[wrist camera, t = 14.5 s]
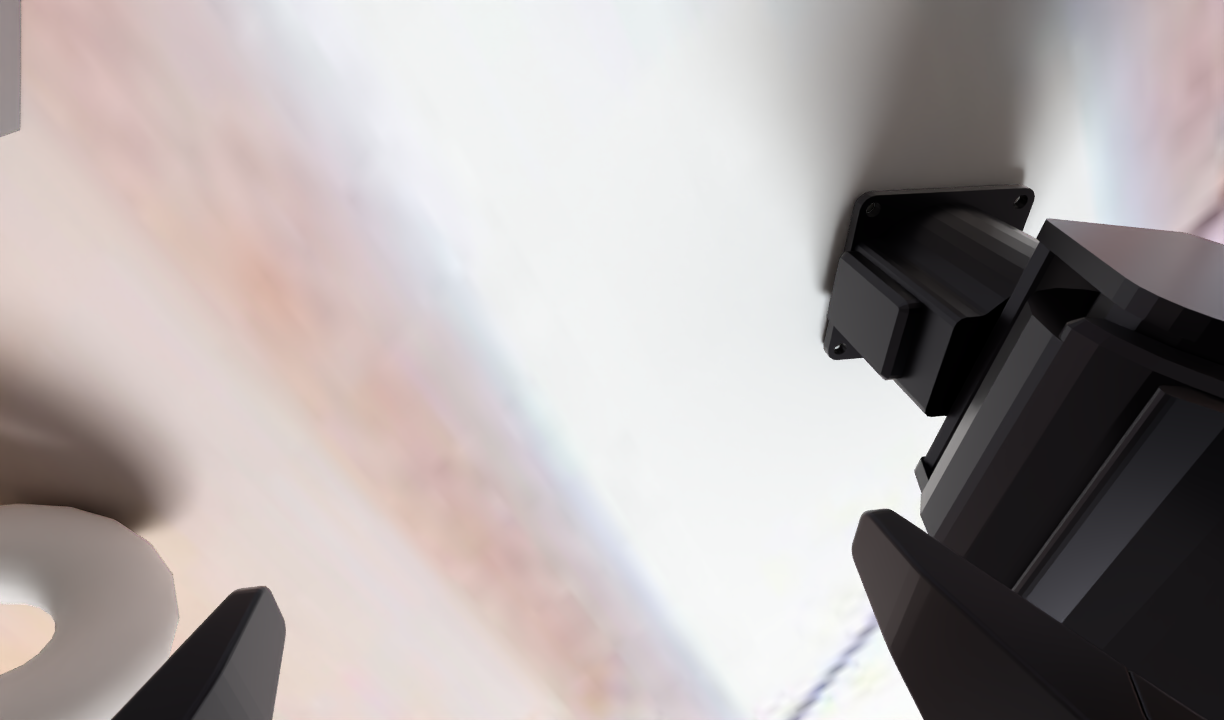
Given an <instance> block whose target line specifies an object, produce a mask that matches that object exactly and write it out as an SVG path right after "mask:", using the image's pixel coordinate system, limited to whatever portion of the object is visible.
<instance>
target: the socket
mask: <svg viewBox="0 0 1224 720" xmlns="http://www.w3.org/2000/svg"><path fill="white" fill-rule="evenodd" d="M20 38H21V0H0V137H2V136H5V135H8V134H10V133H13V132H16V131H19V130H20Z"/></svg>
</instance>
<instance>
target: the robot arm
mask: <svg viewBox="0 0 1224 720" xmlns="http://www.w3.org/2000/svg"><path fill="white" fill-rule="evenodd" d="M1019 196H1020V198H1019V200H1018V201H1017V202H1016V203H1015V204H1014V202H1015V200H1016V199H1017V198H1018V197H1019ZM1034 197H1035V195H1034V191H1033V190H1031V189H1030V188H1028V187H1025V186H1023V185H1019V184H1015V185H995V186H974V187H954V188H933V189H913V190H892V191H871V192H867V193H864V194H863V195H861V196H860V197H859V198H858V199H857V201H856V203H855V205H854V208H853V213H852V217H851V222H850V227H849V231H848V236H847V240H846V245H845V249H844V253H843V255H842V256H841V257H840V259H839V263H838V267H837V272H836V277H835V281H834V286H833V291H832V295H831V300H830V304H829V309H828V314H827V319H828V320H829V322H828V327H827V332H826V336H825V341H824V350H825V352H826V353H827V355H828V356H829V357H830V358H832V359H833V360H843V359H854V358H864V359H865V360H866V361H867V362H868V363H869V364H870V365H871V366H872V367H873V369H874V370H875V371H876V372H877V373H878V374H879V375H880V376H881V377H882V378H883V379H884V380H894V381H895V382H896V383H897V385H898V386H899V387H900V388H901V389H902V390H903V391H904V392H905V393H906V394H907V395H908V396H909V397H910V398H911V399H912V400H913V401H914V402H915V404H916V405H917V406H918V407H919V408H920V409H921V410H922V411H923V412H924V413H925V414H926V415H927V416H929V417H935V416H947V417H946V419H945V421H944V423H943V425H942V427H941V428H940V430H939V432H938V434H937V436H936V438H935V440H934V442H933V444H932V445H931V447H930V449H929V451H928V453H927V455H926V456H925V457H922V458H921V459H920V461H919V463H918V465H917V466H916V468H915V470H914V471H915V475H916V478H917V481H918V484H919V487H920V490H921V493H922V494H921V509H920V516H921V518H922V520H923V523H924V525H925V527H926V530H927V532H928V534H927V533H926V532H924V531H923V530H921V529H920V528H918V527H917V526H915V525H914V524H912V523H911V522H909V521H908V520H906V519H905V518H903V517H902V516H900V515H899V514H897V513H896V512H894V511H892V510H890V509H877V510H869V511H865V512H864V513H863V514H862V515H861V518H860V521H859V524H858V527H857V531H856V534H855V537H854V540H853V543H852V555H853V559H854V562H855V565H856V568H857V570H858V573H859V575H860V578H861V581H862V583H863V586H864V588H865V591H866V593H867V596H868V599H869V601H870V604H871V606H872V609H873V612H874V614H875V617H876V619H877V622H878V625H879V627H880V630H881V632H882V635H883V637H884V640H885V642H886V644H887V647H888V649H889V651H890V654H891V656H892V658H893V660H894V662H895V664H896V666H897V668H898V670H899V672H900V674H901V676H902V678H903V680H904V682H905V684H906V686H907V688H908V690H909V692H910V694H911V696H912V698H913V700H914V702H915V704H916V706H917V708H918V709H919V711H920V713H921V715H922V717H923V719H924V720H1224V245H1223V244H1220V243H1217V242H1214V241H1211V240H1208V239H1205V238H1201V237H1198V236H1195V235H1192V234H1188V233H1183V232H1174V231H1164V230H1155V229H1145V228H1136V227H1126V226H1116V225H1107V224H1097V223H1087V222H1078V221H1068V220H1059V219H1046V221H1045V223H1044V225H1043V226H1042V228H1041V230H1040V232H1039V234H1038V236H1037V238H1034V237H1032V236H1030V235H1028V234H1026V233H1024V232H1022V231H1023V228H1024V226H1025V223H1026V220H1027V218H1028V215H1029V213H1030V210H1031V207H1032V205H1033V202H1034ZM871 203H875V206H874V208H873V210H872V211H870V212H869V213H866V210H867V208H868V206H869V205H870V204H871ZM841 343H842V344H841ZM838 344H841V346H840V347H839V348H837V349H835V347H836V346H837V345H838ZM285 635H286V628H285V621H284V618H283V616H282V614H281V612H280V610H279V607H278V605H277V603H276V601H275V599H274V597H273V595H272V592H271V591H270V589H269V588H267V587H266V586H257V587H249V588H241V589H237V590H235V591H234V592H232V593H231V594H230V595H229V596H228V597H227V598H226V599H225V600H224V601H223V602H222V603H221V604H220V605H219V606H218V607H217V608H216V609H215V610H214V611H213V613H212V614H211V615H210V616H209V617H208V618H207V619H206V620H205V621H204V622H203V623H202V624H201V625H200V626H199V627H198V628H197V629H196V630H195V631H194V632H193V634H192V635H191V636H190V637H189V638H188V639H187V640H186V641H185V642H184V643H183V644H182V645H181V646H180V647H179V648H178V649H177V650H176V651H175V652H174V654H173V655H172V656H171V657H170V658H169V659H168V660H167V661H166V662H165V663H164V664H163V665H162V666H161V667H160V668H159V669H158V670H157V671H156V672H155V673H154V675H153V676H152V677H151V678H150V679H149V680H148V681H147V682H146V683H145V684H144V685H143V686H142V687H141V688H140V689H139V690H138V691H137V692H136V693H135V695H134V696H133V697H132V698H131V699H130V700H129V701H128V702H127V703H126V704H125V705H124V706H123V707H122V708H121V709H120V710H119V711H118V712H117V713H116V714H115V716H114V717H113V718H112V719H111V720H272V718H273V711H274V705H275V699H276V693H277V686H278V680H279V674H280V667H281V661H282V655H283V649H284V642H285Z"/></svg>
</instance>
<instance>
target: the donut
mask: <svg viewBox="0 0 1224 720" xmlns="http://www.w3.org/2000/svg"><path fill="white" fill-rule="evenodd" d="M0 604H25V605H29V606H33V607H37V608H41V609H42V610H44V611H45V612H47V613H48V614H50V615H51V617H52V618H53V620H54V622H55V633H54V635H53V637H52V639H51V640H50V641H49V642H48V644H47V645H46V646H45V647H44V648H43V649H42V650H41V652H40V653H39V654H38V655H36V656H35V657H33V658H32V659H31V660H29V661H28V662H26V663H25V664H24V665H22V666H19V667H17V668H15V669H13V670H10V671H8V672H6V673H4V674H2V675H0V720H111V719H112V718H113V717H114V716H115V714H116V713H117V712H118V711H119V710H120V709H121V708H122V707H123V706H124V705H125V704H126V703H127V702H128V701H129V700H130V699H131V698H132V697H133V696H134V695H135V693H136V692H137V691H138V690H139V689H140V688H141V687H142V686H143V685H144V684H145V683H146V682H147V681H148V680H149V679H150V678H151V677H152V676H153V675H154V673H155V672H156V671H157V670H158V669H159V668H160V667H161V666H162V665H163V664H164V663H165V662H166V661H167V660H168V658H169V654H170V651H171V647H172V643H173V640H174V636H175V632H176V629H177V625H178V621H179V611H178V605H177V598H176V592H175V585H174V579H173V574H172V572H171V571H170V569H169V568H168V566H167V565H166V564H165V562H164V561H163V559H162V558H161V557H160V555H159V554H158V552H157V551H156V549H155V548H154V547H153V545H152V544H151V543H149V542H148V541H147V540H146V539H144V538H143V537H141V536H139V535H138V534H136V533H135V532H133V531H132V530H130V529H129V528H127V527H125V526H124V525H122V524H121V523H119V522H118V521H116V520H114V519H111V518H108V517H104V516H101V515H97V514H94V513H90V512H87V511H83V510H80V509H76V508H73V507H64V506H49V505H34V504H9V505H0Z"/></svg>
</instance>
